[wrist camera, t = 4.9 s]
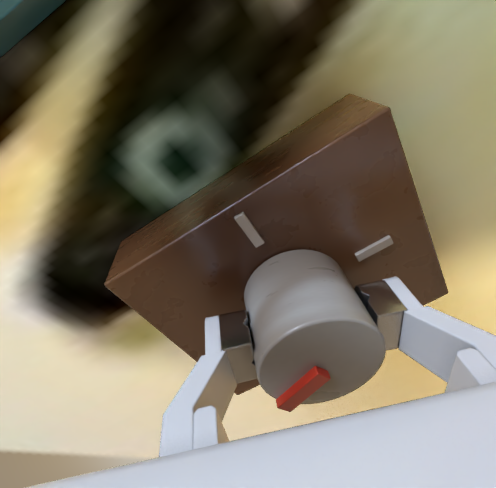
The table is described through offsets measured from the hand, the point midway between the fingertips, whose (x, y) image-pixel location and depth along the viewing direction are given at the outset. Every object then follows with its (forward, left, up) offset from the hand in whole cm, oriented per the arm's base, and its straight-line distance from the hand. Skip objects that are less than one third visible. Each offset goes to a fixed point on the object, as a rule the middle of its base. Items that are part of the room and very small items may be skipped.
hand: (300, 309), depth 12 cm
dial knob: (0, 0, -1) cm, 1 cm away
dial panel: (0, 0, -4) cm, 4 cm away
